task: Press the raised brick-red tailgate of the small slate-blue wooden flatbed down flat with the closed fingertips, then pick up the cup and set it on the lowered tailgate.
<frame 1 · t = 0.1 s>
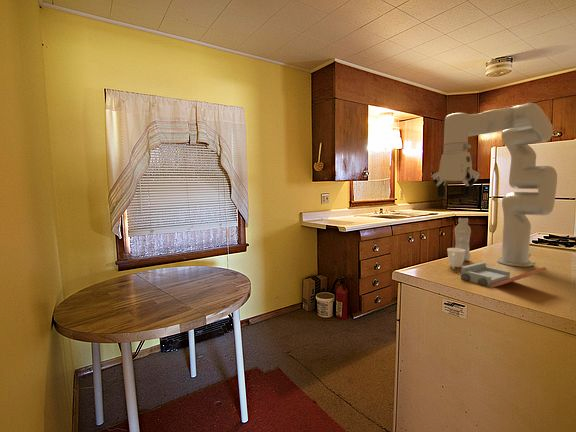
hand: (453, 197, 109), 31 cm above the table, fingers open, 9 cm apart
plastic bottle: (461, 261, 138), on the table
tailgate: (518, 277, 100), point 4 cm above the table, hinge at 35.0°
flatbed: (484, 280, 110), on the table
cup: (454, 269, 126), on the table
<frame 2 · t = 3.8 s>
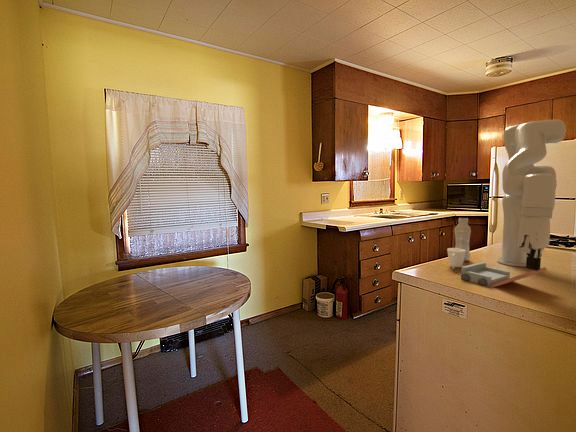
hand: (532, 269, 97), 8 cm above the table, fingers closed
tailgate: (518, 277, 100), point 4 cm above the table, hinge at 34.9°, touching gripper
everything else where it was.
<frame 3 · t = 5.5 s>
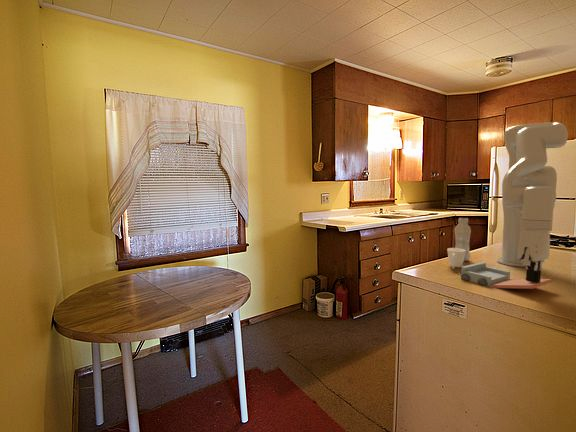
hand: (532, 281, 96), 4 cm above the table, fingers closed
tailgate: (521, 283, 100), point 2 cm above the table, hinge at 16.2°, touching gripper
everything else where it was.
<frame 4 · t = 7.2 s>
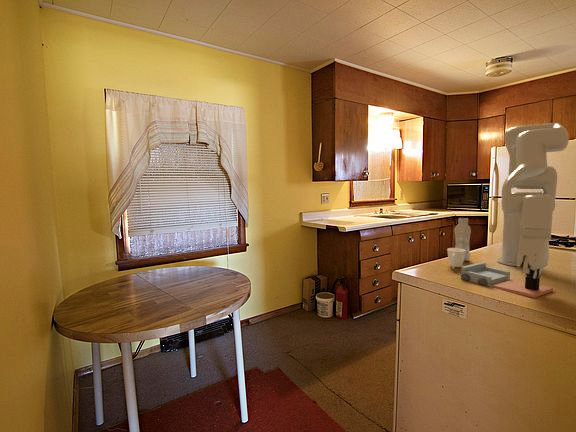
hand: (531, 289, 97), 1 cm above the table, fingers closed
tailgate: (522, 287, 100), point 1 cm above the table, hinge at 3.1°, touching gripper
everything else where it was.
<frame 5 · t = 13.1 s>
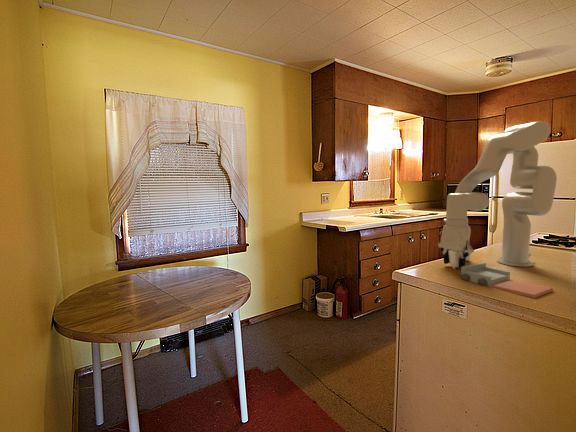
hand: (454, 264, 126), 2 cm above the table, fingers closed on cup, 5 cm apart
tailgate: (522, 288, 100), point 1 cm above the table, hinge at 2.9°
cup: (455, 269, 125), on the table, touching gripper
everything else where it was.
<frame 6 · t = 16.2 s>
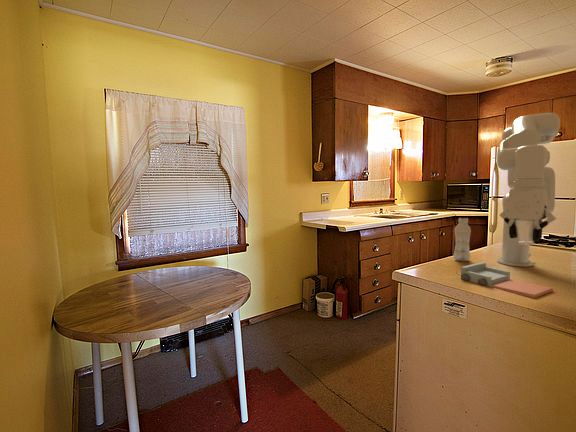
hand: (524, 238, 98), 18 cm above the table, fingers closed on cup, 5 cm apart
cup: (526, 244, 98), point 16 cm above the table, touching gripper
everything else where it was.
when the fingers open (4 cm above the table, at t = 19.3 s): cup drops 1 cm, resting on tailgate.
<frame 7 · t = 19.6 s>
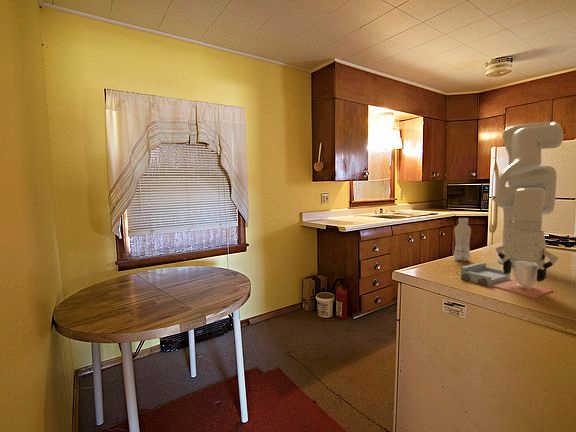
hand: (523, 276, 99), 5 cm above the table, fingers open, 9 cm apart
tailgate: (521, 288, 100), point 1 cm above the table, hinge at 0.0°, touching cup
cup: (524, 288, 99), point 1 cm above the table, touching tailgate
everything else where it was.
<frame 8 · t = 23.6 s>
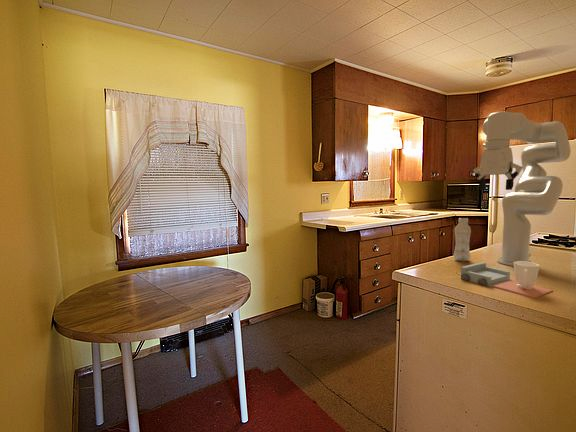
hand: (495, 189, 117), 33 cm above the table, fingers open, 9 cm apart
tailgate: (521, 289, 100), on the table, hinge at -0.3°
cup: (524, 288, 99), point 1 cm above the table
everything else where it was.
at the end: tailgate at +0° (first picture: +35°); cup inside the target area (0.3 cm from its centre), point 0.8 cm above the table; cup tilted 0° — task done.
